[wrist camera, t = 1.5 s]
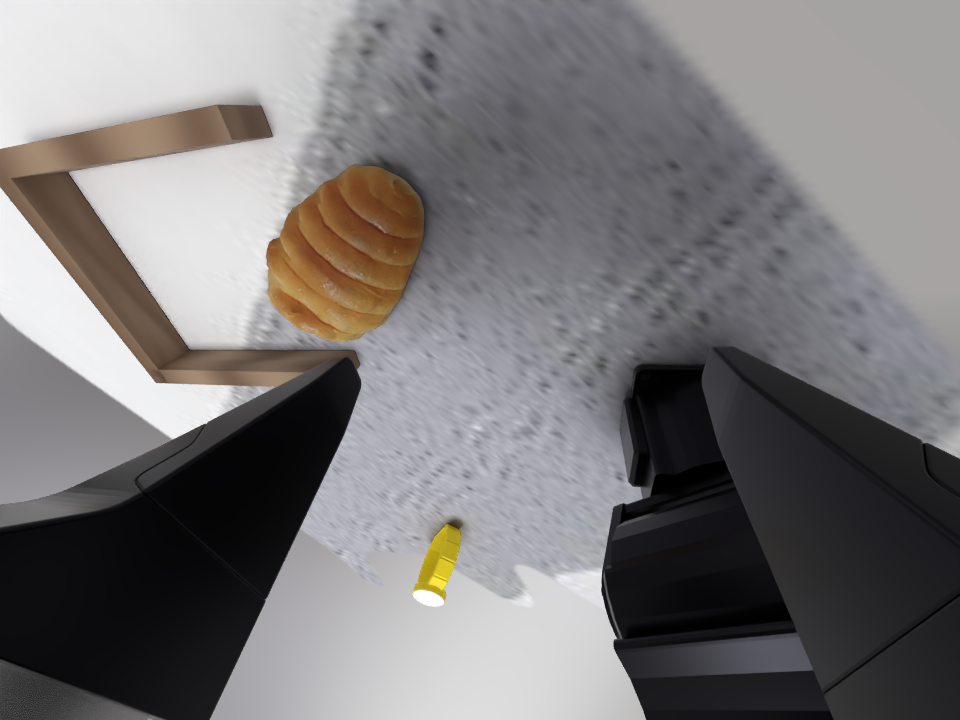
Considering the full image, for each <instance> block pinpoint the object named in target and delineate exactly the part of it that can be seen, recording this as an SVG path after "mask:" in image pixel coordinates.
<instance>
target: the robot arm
mask: <svg viewBox="0 0 960 720" xmlns="http://www.w3.org/2000/svg"><path fill="white" fill-rule="evenodd" d="M643 373H648V374H647V375H646V376H641V374H643ZM360 389H361V379H360V377H359V374H358V372H357V370H356V367H355V365H354V363H353V361H352V359H351V358H349V357H334V358H332V359H330V360H328V361H326V362H324V363H322V364H320V365H318V366H316V367H315V368H313V369H311V370H309V371H307V372H305V373H303V374H301V375H299V376H297V377H295V378H293V379H291V380H289V381H287V382H285V383H283V384H281V385H279V386H277V387H275V388H274V389H272V390H270V391H268V392H266V393H264V394H262V395H260V396H258V397H256V398H254V399H252V400H250V401H248V402H246V403H244V404H242V405H240V406H238V407H236V408H234V409H233V410H231V411H229V412H227V413H225V414H223V415H221V416H219V417H217V418H215V419H213V420H211V421H209V422H208V423H207V424H203V425H201V426H199V427H197V428H195V429H193V430H191V431H189V432H187V433H185V434H183V435H181V436H179V437H177V438H175V439H173V440H171V441H170V442H167V443H165V444H163V445H161V446H160V447H157V448H155V449H153V450H151V451H149V452H147V453H144V454H143V455H141V456H139V457H136V458H134V459H132V460H130V461H128V462H125V463H123V464H121V465H119V466H117V467H115V468H112V469H110V470H108V471H106V472H104V473H102V474H99V475H97V476H95V477H93V478H91V479H89V480H87V481H84V482H82V483H80V484H78V485H76V486H74V487H71V488H69V489H67V490H64V491H62V492H59V493H56V494H53V495H50V496H46V497H43V498H39V499H35V500H30V501H26V502H19V503H11V504H2V505H0V720H148V718H149V719H153V720H210V718H211V715H212V714H213V712H214V710H215V707H216V705H217V703H218V701H219V699H220V697H221V694H222V693H223V690H224V688H225V686H226V684H227V682H228V680H229V678H230V676H231V674H232V671H233V669H234V667H235V665H236V663H237V661H238V659H239V657H240V654H241V652H242V650H243V648H244V646H245V644H246V642H247V640H248V638H249V635H250V633H251V631H252V629H253V627H254V625H255V623H256V621H257V618H258V616H259V614H260V612H261V610H262V608H263V606H264V604H265V599H266V598H267V597H268V595H269V593H270V591H271V588H272V586H273V584H274V582H275V580H276V578H277V576H278V573H279V571H280V569H281V567H282V565H283V563H284V561H285V558H286V557H287V555H288V552H289V550H290V548H291V546H292V544H293V541H294V540H295V538H296V536H297V534H298V531H299V529H300V527H301V525H302V523H303V521H304V519H305V517H306V514H307V512H308V510H309V508H310V506H311V504H312V502H313V500H314V498H315V495H316V493H317V491H318V489H319V487H320V485H321V483H322V481H323V479H324V476H325V474H326V472H327V470H328V468H329V466H330V464H331V462H332V460H333V457H334V455H335V453H336V451H337V449H338V447H339V445H340V443H341V441H342V438H343V436H344V434H345V431H346V429H347V426H348V423H349V420H350V418H351V415H352V412H353V409H354V406H355V403H356V400H357V398H358V395H359V392H360ZM620 434H621V440H622V446H623V452H624V458H625V464H626V471H627V477H628V482H629V483H630V484H631V485H632V486H634V487H641V492H642V497H643V499H641V500H638V501H635V502H632V503H629V504H627V505H626V504H624V503H623V504H620V505H617V506H614V508H613V513H612V519H611V524H610V530H609V536H608V542H607V547H606V553H605V559H604V564H603V570H602V588H601V591H602V596H603V599H604V604H605V608H606V611H607V615H608V618H609V621H610V624H611V626H612V628H613V631H614V633H615V635H616V637H617V639H615V640H614V649H615V652H616V654H617V656H618V657H619V659H620V661H621V663H622V665H623V666H624V668H625V670H626V672H627V674H628V676H629V677H630V679H631V682H632V684H633V687H634V689H635V691H636V694H637V696H638V699H639V701H640V704H641V706H642V708H643V711H644V714H645V717H646V720H960V459H959V458H957V457H955V456H953V455H951V454H949V453H947V452H945V451H943V450H941V449H939V448H937V447H935V446H933V445H931V444H929V443H924V444H923V442H922V440H920V439H919V438H917V437H914V436H912V435H910V434H908V433H906V432H904V431H902V430H900V429H898V428H896V427H894V426H892V425H890V424H888V423H886V422H884V421H882V420H880V419H878V418H876V417H874V416H872V415H870V414H868V413H866V412H864V411H862V410H860V409H858V408H856V407H854V406H852V405H850V404H848V403H846V402H844V401H842V400H840V399H838V398H836V397H834V396H832V395H830V394H828V393H826V392H824V391H822V390H820V389H818V388H816V387H814V386H812V385H810V384H808V383H806V382H804V381H802V380H800V379H798V378H796V377H794V376H792V375H790V374H788V373H786V372H784V371H781V370H779V369H777V368H775V367H773V366H771V365H769V364H767V363H765V362H763V361H761V360H759V359H757V358H755V357H753V356H751V355H749V354H747V353H745V352H743V351H741V350H739V349H737V348H735V347H732V346H721V347H712V348H711V349H710V350H709V352H708V355H707V359H706V363H705V366H700V365H641V366H639V367H637V368H636V369H635V371H634V376H633V383H632V390H631V397H630V398H626V399H625V400H624V402H623V410H622V417H621V425H620Z"/></svg>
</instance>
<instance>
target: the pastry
mask: <svg viewBox="0 0 960 720" xmlns="http://www.w3.org/2000/svg"><path fill="white" fill-rule="evenodd" d="M424 218H425V213H424V207H423V204H422V201H421V198H420V197H419V195H418V194H417V193H416V192H415V191H414V190H413V188H412V187H411V186H410V185H409V184H408V183H407V182H406V181H405V180H404V179H402V178H401V177H399V176H397V175H395V174H392V173H390V172H388V171H387V170H385V169H383V168H381V167H376V166H364V165H352V166H351V167H350V168H348V169H347V170H346V171H344V172H343V173H341V174H340V175H339V176H338V177H337V178H335V179H333V180H330V181H327V182H324V183H323V184H322V185H320V186H319V188H318V189H317V190H316V192H315V193H314V194H312V195H311V196H309V197H308V198H307V199H305V200H304V201H303V203H302V204H299V205H298V206H296V207H294V208H292V210H291V212H290V213H289V214H288V216H287V218H286V220H285V224H284V228H283V229H282V232H281V234H280V238H277V239H273V240H272V241H270V242H269V245H268V248H267V254H266V258H267V266H268V268H269V269H268V282H269V287H268V290H267V294H268V296H269V298H270V301H271V303H272V304H273V306H274V307H275V308H276V309H277V310H278V311H279V313H280V314H281V315H283V316H284V317H285V318H286V319H287V320H288V321H290V322H291V323H292V324H293V325H294V326H296V327H297V328H299V329H300V330H303V331H305V332H309V333H313V334H315V335H317V336H318V337H320V338H322V339H326V340H332V341H349V340H355V339H358V338H360V337H361V336H363V335H364V334H365V333H366V332H367V331H370V330H373V329H376V328H377V327H379V326H380V325H382V324H383V323H384V322H385V321H386V320H387V318H388V316H389V314H390V312H391V311H392V310H393V308H394V307H395V305H396V304H397V303H398V302H399V301H400V299H401V297H402V295H403V292H404V290H405V287H406V284H407V281H408V278H409V276H410V273H411V270H412V268H413V266H414V263H415V260H416V258H417V256H418V253H419V250H420V247H421V244H422V241H423V237H424Z"/></svg>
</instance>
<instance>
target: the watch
mask: <svg viewBox="0 0 960 720" xmlns="http://www.w3.org/2000/svg"><path fill="white" fill-rule="evenodd" d="M460 541H461V533H460V531H459V529H457V528H455V527H453V526H451V525H449V524H445V526H444V528H443V529H442V530H441V531H440V532H439V533H438V534H437V535H436V536H435V537H434V539H433V541H432V543H431V545H430V548H429V549H428V552H427V554H426V557H425V559H424V563H423V565H422V568H421V571H420V574H419V578H418V583H417V584H416V585H415V588H414V591H413V596H414V598H415V599H416V600H417V601H419V602H421V603H422V604H425V605H428V606H433V607H438V606H441V605H443V604H444V602H445V598H446V592H445V591H444V588H445V586H446V584H447V582H448V580H449V578H450V575H451V573H452V570H453V568H454V566H455V562H456V559H457V556H458V552H459V547H460Z"/></svg>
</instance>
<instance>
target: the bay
mask: <svg viewBox="0 0 960 720" xmlns="http://www.w3.org/2000/svg"><path fill="white" fill-rule="evenodd" d="M269 137H273V136H272V134H271V131H270V128H269V126H268V123H267V120H266V118H265V115H264V113H263V110H262V107H261V106H244V105H214V106H209V107H204V108H199V109H194V110H189V111H184V112H179V113H175V114H170V115H165V116H160V117H155V118H150V119H145V120H140V121H135V122H130V123H126V124H121V125H116V126H111V127H106V128H101V129H96V130H91V131H86V132H81V133H77V134H72V135H67V136H62V137H57V138H52V139H47V140H42V141H37V142H32V143H28V144H23V145H18V146H13V147H8V148H3V149H0V187H1V189H2V190H3V191H4V192H5V194H6V195H7V196H8V197H9V199H10V200H11V201H12V202H13V204H14V205H15V206H16V207H17V209H18V210H19V211H20V212H21V214H22V215H23V216H24V217H25V219H26V220H27V221H28V222H29V224H30V225H31V226H32V228H33V229H34V230H35V231H36V233H37V234H38V235H39V236H40V238H41V239H42V240H43V241H44V243H45V244H46V245H47V246H48V248H49V249H50V250H51V251H52V253H53V254H54V255H55V256H56V258H57V259H58V260H59V261H60V263H61V264H62V265H63V266H64V268H65V269H66V270H67V271H68V273H69V274H70V275H71V277H72V278H73V279H74V280H75V282H76V283H77V284H78V285H79V287H80V288H81V289H82V290H83V292H84V293H85V294H86V295H87V297H88V298H89V299H90V300H91V302H92V303H93V304H94V305H95V307H96V308H97V309H98V310H99V312H100V313H101V314H102V315H103V317H104V318H105V319H106V320H107V322H108V323H109V324H110V326H111V327H112V328H113V329H114V331H115V332H116V333H117V334H118V336H119V337H120V338H121V339H122V341H123V342H124V343H125V344H126V346H127V347H128V348H129V349H130V351H131V352H132V353H133V354H134V356H135V357H136V358H137V359H138V361H139V362H140V363H141V364H142V366H143V367H144V368H145V369H146V371H147V372H148V373H149V375H150V376H151V377H152V378H153V380H154V381H155V382H156V383H174V384H206V385H238V386H269V387H277V386H279V385H281V384H283V383H285V382H287V381H289V380H291V379H293V378H295V377H297V376H299V375H301V374H303V373H305V372H307V371H309V370H311V369H313V368H315V367H316V366H318V365H320V364H322V363H324V362H326V361H328V360H330V359H332V358H334V357H349V358H351V359H352V361H353V363H354V365H355V367H356V370H357V369H358V368H359V366H360V364H359V361H358V359H357V356H356V354H355V351H275V350H189V349H188V348H187V346H186V345H185V343H184V342H183V340H182V339H181V337H180V336H179V335H178V333H177V332H176V330H175V329H174V327H173V326H172V324H171V323H170V321H169V320H168V318H167V317H166V316H165V314H164V313H163V311H162V310H161V308H160V307H159V305H158V304H157V302H156V301H155V300H154V298H153V297H152V295H151V294H150V292H149V291H148V289H147V288H146V286H145V285H144V284H143V282H142V281H141V279H140V278H139V276H138V275H137V273H136V272H135V270H134V269H133V268H132V266H131V265H130V263H129V262H128V260H127V259H126V257H125V256H124V254H123V253H122V252H121V250H120V249H119V247H118V246H117V244H116V243H115V241H114V240H113V238H112V237H111V235H110V234H109V233H108V231H107V230H106V228H105V227H104V225H103V224H102V222H101V221H100V219H99V218H98V217H97V215H96V214H95V212H94V211H93V209H92V208H91V206H90V205H89V203H88V202H87V201H86V199H85V198H84V196H83V195H82V193H81V192H80V190H79V189H78V187H77V186H76V185H75V183H74V182H73V180H72V179H71V177H70V176H69V174H68V173H67V172H69V171H74V170H80V169H86V168H92V167H98V166H104V165H110V164H116V163H122V162H128V161H134V160H139V159H145V158H151V157H157V156H163V155H169V154H175V153H181V152H187V151H193V150H199V149H204V148H210V147H216V146H222V145H228V144H234V143H240V142H246V141H252V140H258V139H264V138H269Z"/></svg>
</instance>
